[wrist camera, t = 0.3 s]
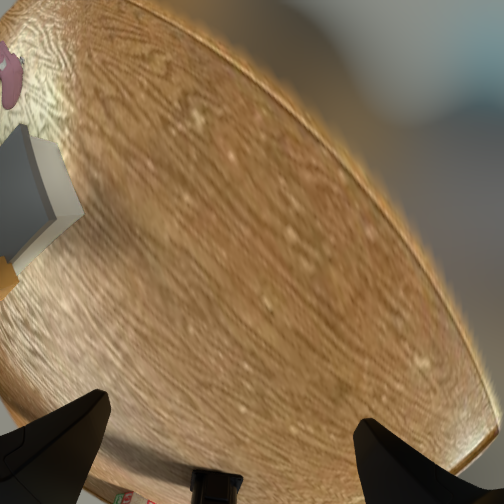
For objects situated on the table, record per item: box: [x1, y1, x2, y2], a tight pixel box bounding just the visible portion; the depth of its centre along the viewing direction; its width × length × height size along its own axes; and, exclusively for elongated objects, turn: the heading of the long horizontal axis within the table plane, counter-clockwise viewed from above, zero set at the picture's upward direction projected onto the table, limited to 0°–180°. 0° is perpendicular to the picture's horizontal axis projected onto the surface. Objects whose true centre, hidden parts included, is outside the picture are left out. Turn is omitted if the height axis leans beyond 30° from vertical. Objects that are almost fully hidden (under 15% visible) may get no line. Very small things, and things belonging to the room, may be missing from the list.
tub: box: [12, 135, 85, 276], centre depth 18 cm, size 8×16×5 cm, turn 118°
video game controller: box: [0, 41, 25, 109], centre depth 15 cm, size 10×5×7 cm, turn 47°
